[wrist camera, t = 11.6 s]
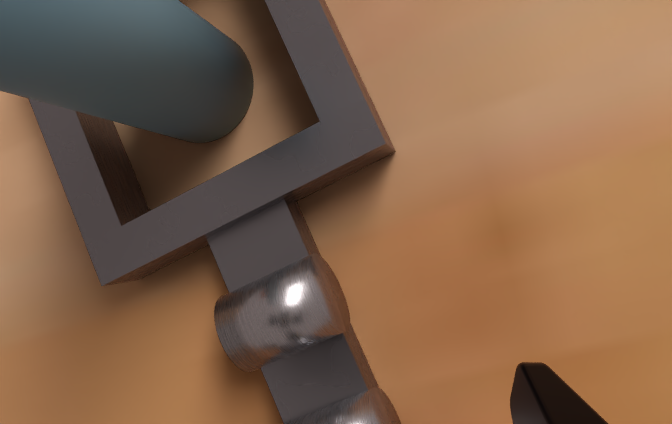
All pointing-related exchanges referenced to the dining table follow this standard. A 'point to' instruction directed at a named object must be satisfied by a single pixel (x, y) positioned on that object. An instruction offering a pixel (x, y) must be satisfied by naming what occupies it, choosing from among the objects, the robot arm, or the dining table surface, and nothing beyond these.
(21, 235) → the dining table surface
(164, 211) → the grey square frame handle
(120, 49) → the pin
